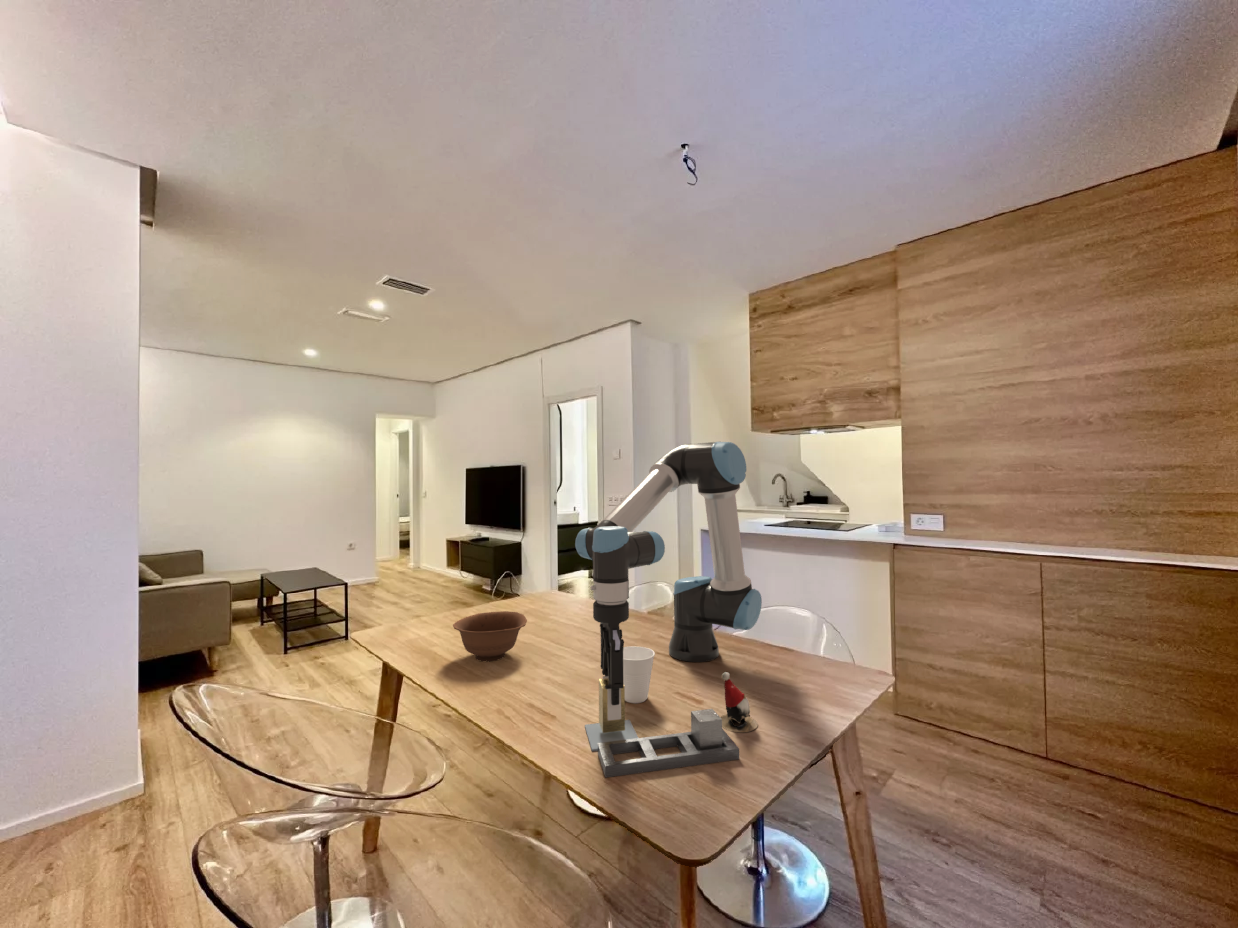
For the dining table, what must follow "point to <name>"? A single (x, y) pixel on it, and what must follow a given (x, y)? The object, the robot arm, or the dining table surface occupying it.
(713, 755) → the grey block holder tray
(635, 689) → the cup
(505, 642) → the bowl
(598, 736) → the mat
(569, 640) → the dining table surface
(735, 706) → the figurine
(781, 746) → the dining table surface
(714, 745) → the block
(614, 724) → the block
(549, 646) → the dining table surface
